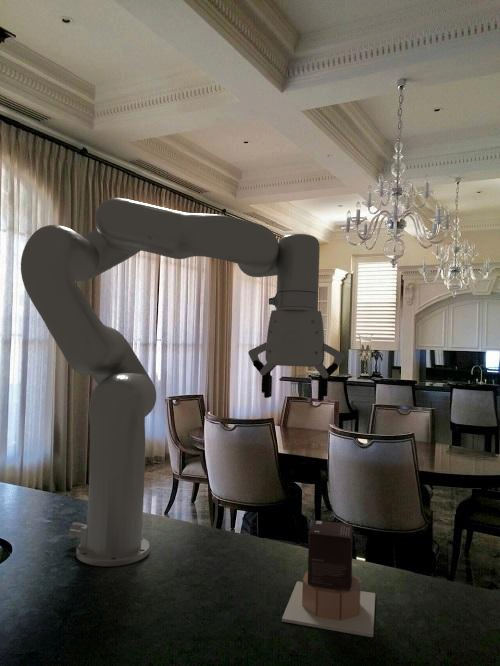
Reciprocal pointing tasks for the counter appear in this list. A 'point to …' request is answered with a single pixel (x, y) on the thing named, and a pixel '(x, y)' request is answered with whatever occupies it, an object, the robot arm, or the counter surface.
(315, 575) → the box
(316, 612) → the bowl
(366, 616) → the placemat
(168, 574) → the counter surface
